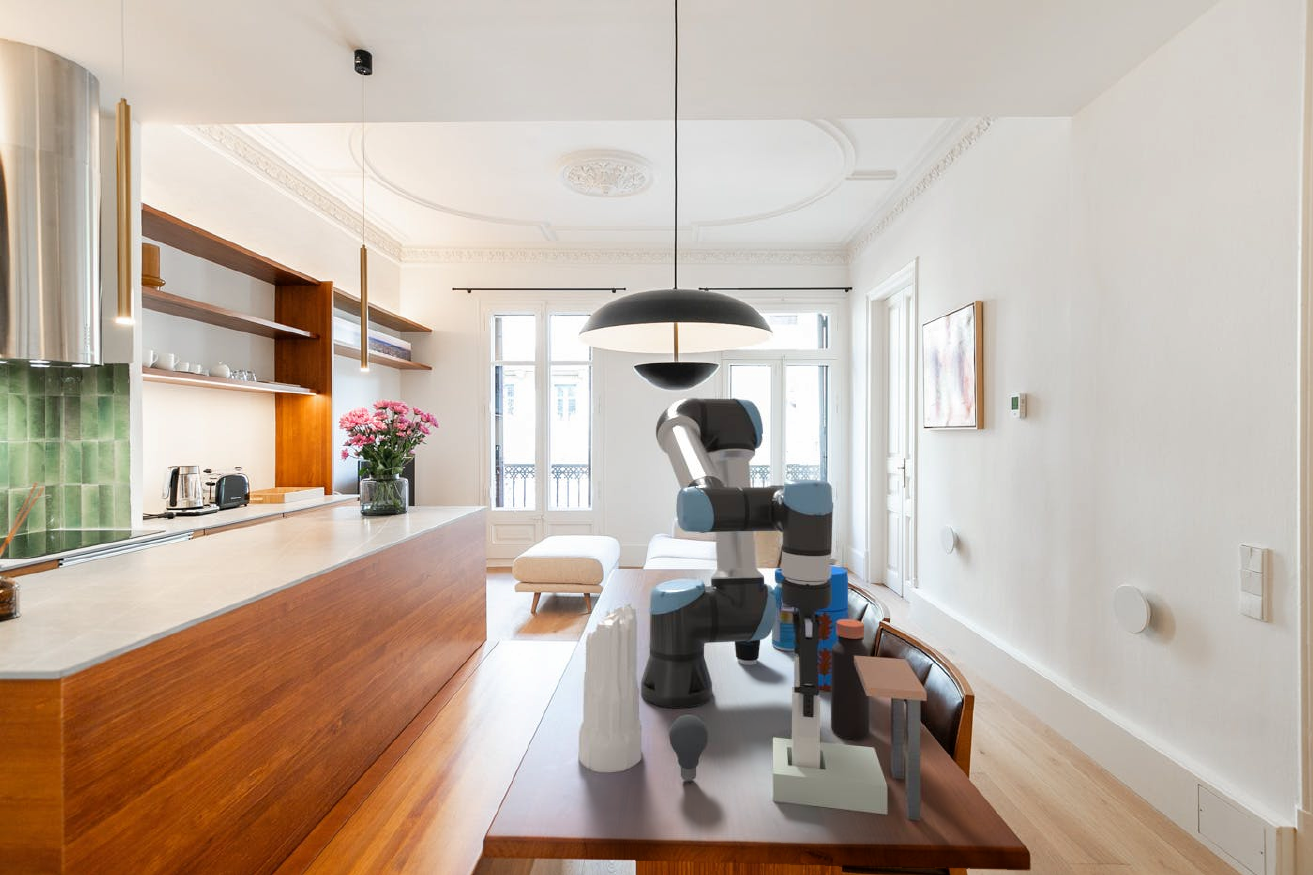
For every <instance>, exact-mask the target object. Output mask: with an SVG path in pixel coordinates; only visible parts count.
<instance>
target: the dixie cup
mask: <svg viewBox="0 0 1313 875" xmlns="http://www.w3.org/2000/svg"><path fill="white" fill-rule="evenodd" d="M734 647H735V648H734V650H735V657H736V660H737V663H739V664H742V665H744V666H748V665H749V666H751V665H756V664H757V663H758V659H759V655H760V647H761V640H754V641H750V642H745V641H737V642H734Z"/></svg>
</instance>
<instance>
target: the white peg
mask: <svg viewBox="0 0 1313 875" xmlns="http://www.w3.org/2000/svg"><path fill="white" fill-rule="evenodd" d="M794 688H795V687H794V686H792V687H791V692H792V693H791V695H792V696H791V739H792V766H797V767H806V768H816V769H820V742H821V698H820V694H819V695H818V711H817V738H810V737H801V736H798V693H794Z"/></svg>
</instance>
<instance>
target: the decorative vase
mask: <svg viewBox="0 0 1313 875" xmlns="http://www.w3.org/2000/svg"><path fill="white" fill-rule="evenodd" d="M636 610H637V609H636V608H632V603H627V604H626V605H624V607H623V606H622V605H620V606H618V607H616V608H614V610H613V612H611V611H606V614H605V617H604V618H605V619H603V620H602V621H600V622H597V623H596V624H597V625H596V628H595V630H594V631H593V632H592V633H591V632H588V633H587V636H586V641H585V671H584V677H583V702H582V703H583V706H582V707H583V709H582V711H583V712H582V713H583V715H582V716H583V718H582V722H581V723H580V727H579V730H578V761H579V762H580V764H582V765H583V767H585V769H588V770H591V771H594V772H599V773H617V772H622V771H623V772H624V771H627V770H629V769H631V768H632V767H634V766H636V765H637V764H638V763H639V762H640V761H641V760H642V746H643V744H642V743H643V742H642V740H643V738H642V735H643V734H642V733H643V732H642V723H641V720H640V688H639V685H638V678H637V673H638V671H637V670H638V668H637V664H638V663H637V662H638V659H637V658H638V653H637V652H638V620H637V611H636Z"/></svg>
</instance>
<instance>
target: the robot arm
mask: <svg viewBox="0 0 1313 875" xmlns="http://www.w3.org/2000/svg"><path fill="white" fill-rule="evenodd" d="M763 434H764V427H763V419H762V417H761V412H760V411H759V409H758V407H757V406H756V404H755V403H754V402H752V401H751V400H748V399H738V398H699V397H698V398H697V397H692V398H691V397H689V398H683V399H681V400H678V401H675V402H674V403H672V404H671V405H670V406H668V407H667V408H666V409H665V410H664V411H663V412H662V413H661V414H660V416H659V418H658V420H657V421H656V427H655V436H656V441H657V443H658V446H659V447H660V449H661V450H662V451H663V453H666V454H667V457H668V459H669V461H670V464H671V466H672V469H673V472H674V474H675V477H676V479H677V482H678V485H679V488H680V489H679V491H678V494H677V496H676V510H675V511H676V517H677V523H678V527H680V529H681V530H682V531H684V532H689V533H690V532H691V533H700V534H707V533H715V548H716V550H715V551H716V567H717V568H716V571H715V572H714V573H713V574H712V576H711V577H710V586H707V585H706V584H705V582H704V581H703V580H701V579H698V578H686V577H685V578H676V579H672V580H671V579H670V580H666V581H664V582H661V583H659V584H657V585H656V586H654V587H653V589H652V590H651V592H650V596H649V597H650V598H649V607H648V612H649V656H648V660H647V662H646V664H645V669H644V672H643V675H642V678H641V683H640V694H641V697H642V698H643V699H644V700H646V701H647V702H649V703H651V704H652V705H656V706H658V707H659V706H660V707H665V708H670V709H671V708H674V709H684V708H685V709H686V708H692V707H693V708H694V707H698V706H701V705H702V704H705V703H707V702H708V701H709V700H710V699H712V696H713V682H712V678H711V675H710V671H709V668H708V665H707V662H706V659H705V644H712V643H729V642H730V643H731V642H732V643H733V642H734V643H735V642H737V641H745V642H750V641H754V640H760V641H761V640H765V639H766V638H768V636H770V634H772V628H773V625H774V622H775V616H776V599H775V596H774V591H773V590H774V588H773V587H772V586H771V585H769V584H768V583H765V576H764V574H762V573H761V572H760V571H759V570H758V568H757V557H756V556H757V555H756V544H755V532H780V533H781V534H782V546H781V548H782V549H781V568H782V575H783V576H784V577H785V578H784V579H783V580H782V601H783V602H784V603H785V604H786V605H788V606H790V607H796V613H793V628H794V632H795V641H794V644H795V648H794V651H793V652H794V654H795V655H794V660H793V661H794V663H793V664H794V666H793V668H794V672H793V674H794V675H793V676H794V677H793V678H794V679H793V687H795V688H794V693H798V736H801V737H810V738H817V711H818V695H819V696H820V690H819V688H818V645H819V629H820V619H818V614H815V610H817V609H825V608H827V607H829V606H830V604H831V583H830V582H829V581H828V579H830V578H831V567H830V566H835V565H836V559H835V558H832V551H833V550H832V547H833V546H832V544H833V542H832V541H833V514H834V512H833V511H834V502H833V488H832V485H831V484H830V483H829V482H828V481H826V480H817V479H803V478H802V479H801V478H800V479H787V481H785V482H784V484H783V485H781V484H780V485H767V486H758V487H757V486H756V487H752V486H751V484H752V483H751V482H752V481H751V470H750V469H751V468H750V461H752V460H753V458H754V457H755V456H756V450H757V449H758V448H760V447H761V445H762V444H763V443H762V442H763ZM811 684H812V685H811Z"/></svg>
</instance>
